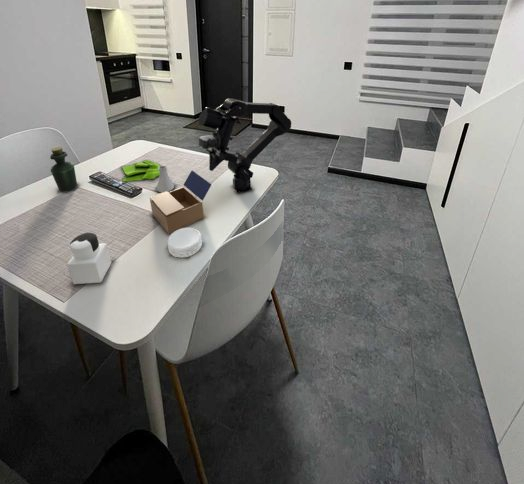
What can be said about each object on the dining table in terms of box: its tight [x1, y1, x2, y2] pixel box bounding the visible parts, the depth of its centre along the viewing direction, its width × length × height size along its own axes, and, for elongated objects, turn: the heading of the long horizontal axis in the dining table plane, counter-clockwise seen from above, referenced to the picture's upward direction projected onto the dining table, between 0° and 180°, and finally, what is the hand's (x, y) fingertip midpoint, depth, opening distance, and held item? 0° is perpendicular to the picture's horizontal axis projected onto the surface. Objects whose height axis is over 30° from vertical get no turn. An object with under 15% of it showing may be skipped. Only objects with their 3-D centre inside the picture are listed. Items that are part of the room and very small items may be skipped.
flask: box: [155, 165, 175, 193], centre depth 118 cm, size 7×7×10 cm
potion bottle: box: [49, 146, 78, 193], centre depth 117 cm, size 8×8×18 cm
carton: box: [149, 186, 205, 235], centre depth 101 cm, size 13×14×7 cm
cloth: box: [121, 159, 161, 182], centre depth 134 cm, size 20×22×2 cm
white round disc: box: [167, 227, 203, 259], centre depth 87 cm, size 10×10×4 cm
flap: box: [183, 169, 212, 202], centre depth 104 cm, size 6×14×1 cm
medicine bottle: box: [66, 232, 112, 285], centre depth 76 cm, size 7×7×12 cm
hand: (210, 170), depth 108 cm, fingers closed
